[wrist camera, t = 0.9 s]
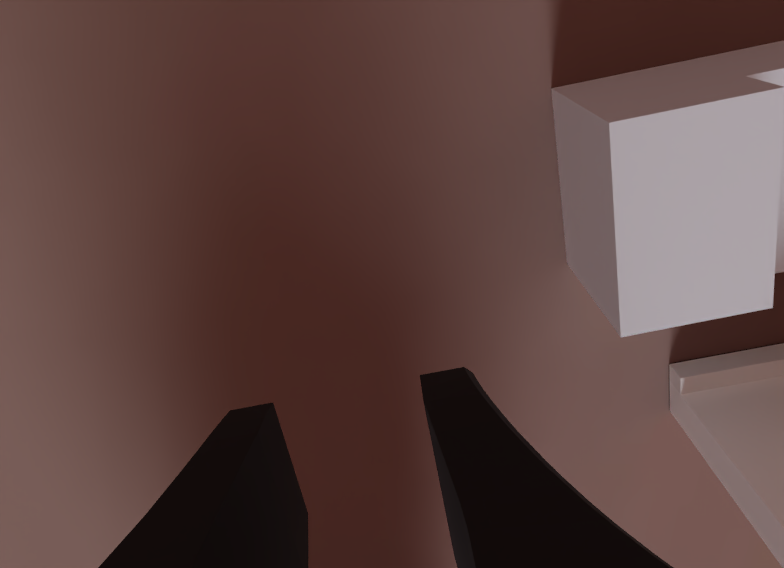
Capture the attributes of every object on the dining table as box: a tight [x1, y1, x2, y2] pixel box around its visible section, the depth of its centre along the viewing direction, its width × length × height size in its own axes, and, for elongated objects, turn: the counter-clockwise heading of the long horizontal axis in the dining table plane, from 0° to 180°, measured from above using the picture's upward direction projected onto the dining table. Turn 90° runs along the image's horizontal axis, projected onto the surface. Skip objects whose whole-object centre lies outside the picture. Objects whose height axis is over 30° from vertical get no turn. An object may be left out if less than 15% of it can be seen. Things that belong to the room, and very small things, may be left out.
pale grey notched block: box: [551, 41, 784, 337], centre depth 16 cm, size 5×7×4 cm
